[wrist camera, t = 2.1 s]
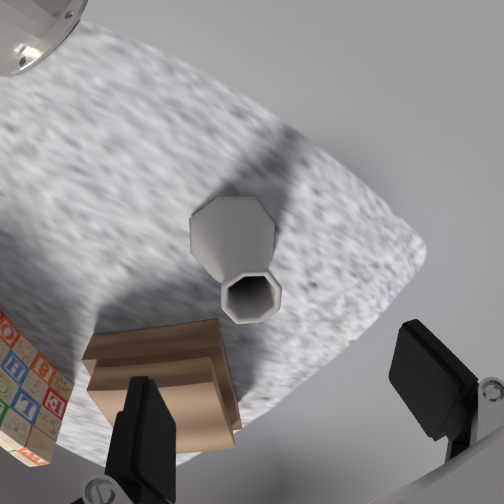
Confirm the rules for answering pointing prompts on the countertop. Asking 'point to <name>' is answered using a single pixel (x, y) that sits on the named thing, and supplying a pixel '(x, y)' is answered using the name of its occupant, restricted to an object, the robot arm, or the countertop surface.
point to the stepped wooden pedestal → (170, 379)
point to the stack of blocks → (29, 398)
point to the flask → (238, 255)
